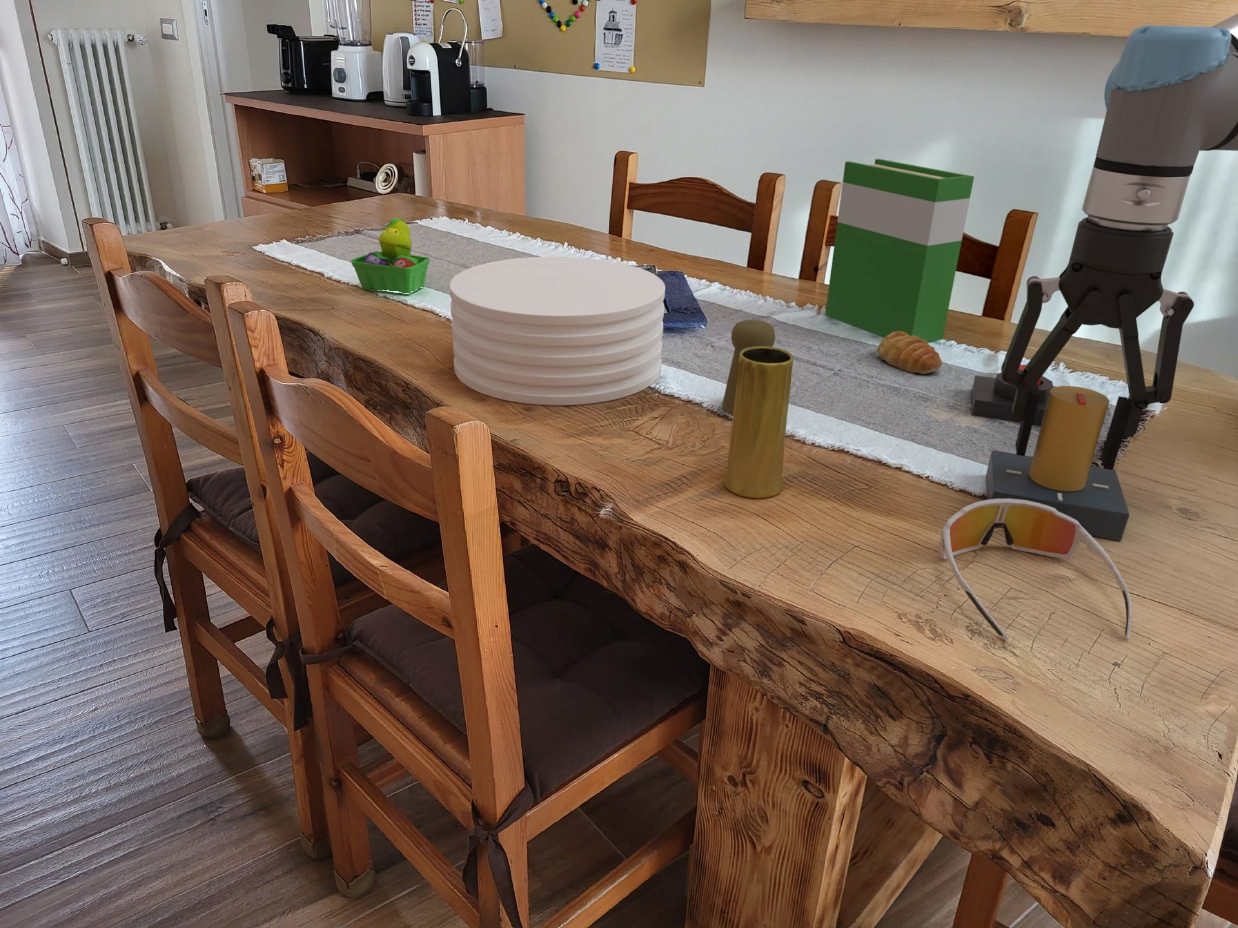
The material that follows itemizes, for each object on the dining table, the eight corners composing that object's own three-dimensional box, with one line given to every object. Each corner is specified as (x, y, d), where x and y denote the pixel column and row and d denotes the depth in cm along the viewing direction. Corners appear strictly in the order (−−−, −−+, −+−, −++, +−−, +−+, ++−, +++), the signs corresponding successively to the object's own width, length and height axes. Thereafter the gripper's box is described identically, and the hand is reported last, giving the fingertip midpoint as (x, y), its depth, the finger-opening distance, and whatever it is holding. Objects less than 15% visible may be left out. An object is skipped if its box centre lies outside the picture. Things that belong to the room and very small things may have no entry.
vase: (711, 482, 95) (722, 352, 89) (751, 466, 99) (764, 340, 92) (754, 505, 91) (769, 370, 84) (794, 487, 94) (811, 357, 88)
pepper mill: (713, 409, 112) (719, 323, 107) (735, 394, 117) (743, 311, 112) (757, 421, 109) (766, 334, 104) (778, 406, 114) (788, 321, 109)
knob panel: (1107, 494, 95) (1116, 467, 94) (1121, 541, 86) (1130, 512, 85) (985, 474, 98) (992, 448, 97) (987, 517, 90) (994, 489, 88)
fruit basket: (351, 291, 154) (344, 223, 149) (379, 278, 161) (373, 213, 156) (411, 299, 150) (406, 229, 145) (437, 285, 158) (433, 219, 153)
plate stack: (414, 358, 125) (408, 276, 120) (573, 321, 142) (573, 247, 137) (538, 424, 107) (536, 330, 102) (703, 372, 124) (709, 289, 119)
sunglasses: (1063, 540, 86) (1080, 497, 83) (1144, 659, 74) (1167, 614, 71) (915, 540, 85) (927, 497, 82) (972, 660, 73) (989, 615, 70)
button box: (1061, 403, 117) (1069, 374, 116) (1067, 430, 110) (1076, 399, 108) (971, 390, 120) (977, 362, 119) (971, 416, 113) (978, 385, 111)
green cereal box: (825, 315, 149) (845, 161, 138) (857, 308, 153) (879, 159, 142) (909, 346, 136) (939, 180, 125) (942, 339, 139) (974, 176, 129)
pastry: (952, 373, 126) (958, 347, 124) (915, 380, 123) (919, 353, 122) (906, 351, 134) (910, 326, 132) (869, 358, 131) (873, 332, 129)
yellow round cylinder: (1027, 464, 94) (1048, 379, 90) (1082, 472, 93) (1106, 387, 88) (1029, 486, 90) (1052, 398, 85) (1087, 495, 88) (1113, 406, 84)
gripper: (1005, 218, 79) (955, 455, 90) (1270, 241, 74) (1184, 491, 84) (1003, 203, 86) (956, 426, 96) (1247, 224, 80) (1169, 458, 90)
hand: (1062, 456), depth 90 cm, fingers open, 7 cm apart
